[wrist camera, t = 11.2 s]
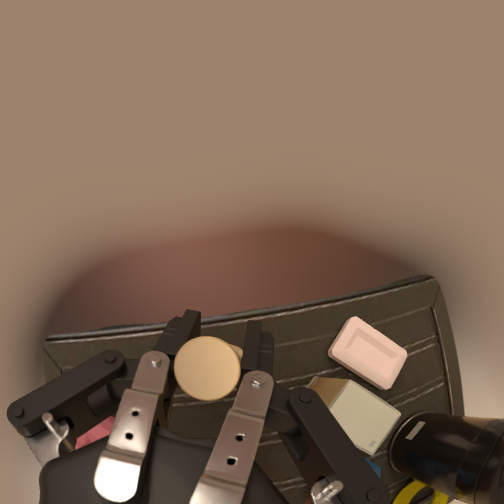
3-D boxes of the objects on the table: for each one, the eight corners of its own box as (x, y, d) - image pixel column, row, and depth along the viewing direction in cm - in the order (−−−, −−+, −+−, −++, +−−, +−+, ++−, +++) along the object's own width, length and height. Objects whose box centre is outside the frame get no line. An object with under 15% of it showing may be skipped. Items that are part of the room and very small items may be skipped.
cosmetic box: (352, 401, 28) (405, 414, 17) (331, 430, 27) (375, 458, 15) (312, 373, 30) (351, 376, 18) (289, 402, 28) (316, 423, 17)
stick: (248, 345, 23) (252, 322, 11) (249, 384, 22) (255, 413, 9) (207, 345, 23) (161, 321, 10) (208, 384, 22) (161, 410, 9)
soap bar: (347, 318, 32) (354, 313, 30) (400, 354, 30) (410, 352, 28) (324, 354, 30) (330, 352, 28) (381, 390, 28) (390, 391, 26)
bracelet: (399, 504, 22) (385, 501, 22) (439, 470, 21) (426, 466, 22) (408, 536, 15) (393, 535, 15) (455, 501, 14) (442, 499, 15)
